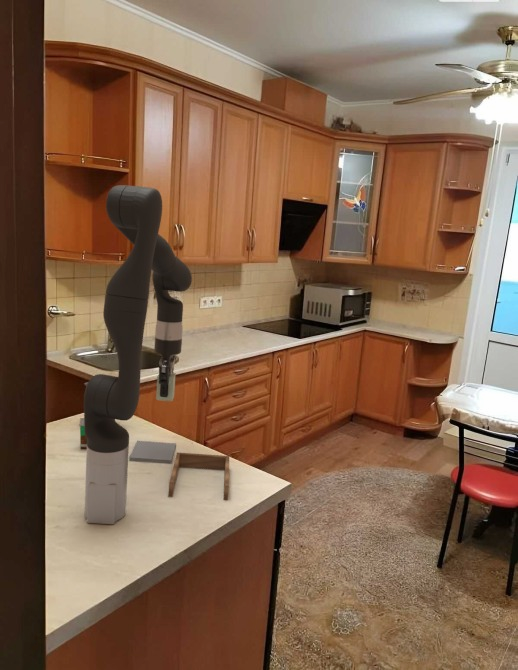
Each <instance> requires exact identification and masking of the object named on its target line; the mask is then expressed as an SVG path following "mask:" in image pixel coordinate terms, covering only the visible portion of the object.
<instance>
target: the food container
mask: <svg viewBox="0 0 518 670" xmlns="http://www.w3.org/2000/svg"><path fill="white" fill-rule="evenodd" d="M79 430H80V433H79V434H80V437H79V438H80V439H79V440H80V441H79V442H80V450H87V439H86V436H85V431H84V417H83V418H80V419H79Z"/></svg>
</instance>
